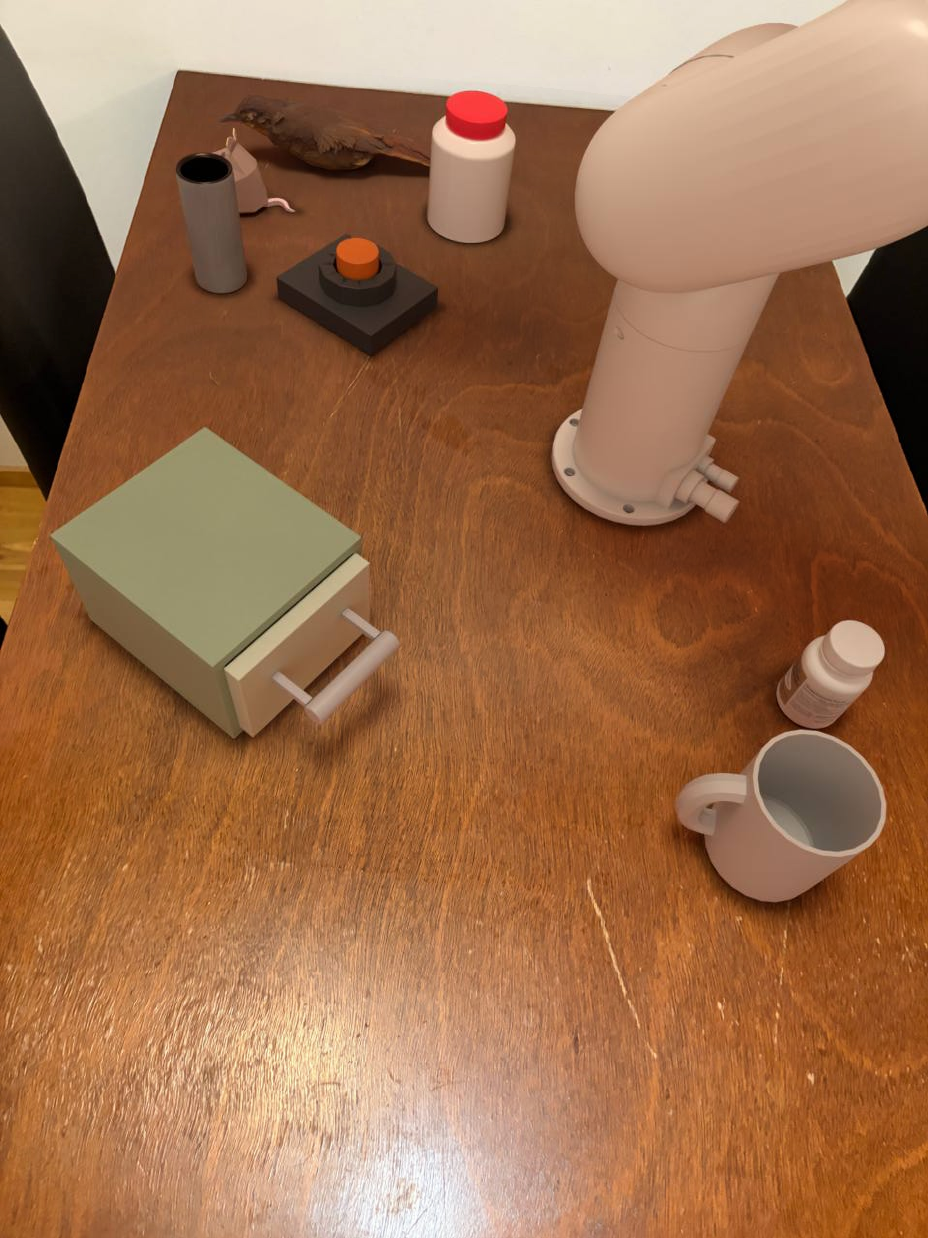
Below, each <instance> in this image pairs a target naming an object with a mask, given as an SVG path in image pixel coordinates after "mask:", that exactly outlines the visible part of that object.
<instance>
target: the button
mask: <svg viewBox="0 0 928 1238" xmlns="http://www.w3.org/2000/svg"><path fill="white" fill-rule="evenodd" d="M375 244H376V243H375V242H373V241H371V240H369V239H366V238H362V237H353V238H350V239H346V240H344V241H342V242H341V243H340V244H339V245H338V246H337V249H336V259H337V270H338V272H339V273H340V274H341V275H342V276H344V277H346V278H349V279H355V280H363V279H369V278H373V277H374V276H375V275H376V274H377V273H378V270H379V250H378V248H377V246H376V245H377V244H376V245H375Z"/></svg>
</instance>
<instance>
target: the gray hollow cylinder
mask: <svg viewBox="0 0 928 1238" xmlns="http://www.w3.org/2000/svg"><path fill="white" fill-rule="evenodd" d="M174 172H175V176H176V177H175V178H176V182H177V188H178V192H179V198H180V203H181V208H182V214H183V219H184V224H185V229H186V234H187V235H186V236H187V240H188V245H189V249H190V250H189V251H190V255H191V261H192V266H193V271H194V277H195V280H196V283H197V284H198V286H200V288H202V289H203V290H205V291H207V292H210V293H214V294H227V293H232V292H235V291H238V290H240V289H241V288H242V287H243V286H245V284H246V283H247V280H248V270H247V262H246V255H245V248H244V241H243V233H242V232H243V231H242V225H241V217H240V214H239V209H238V201H237V194H236V187H235V179H234V172H233V166H232V164H231V163H230V161H229V160H227V159H226V158H225V157H223V156H220V155H218V154H214V153H213V152H195V153H194V152H193V153H191V154H188V155H185V156H183V157H182V158H181V159H180V160H178V161H177V162H176V164H175V167H174Z"/></svg>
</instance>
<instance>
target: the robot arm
mask: <svg viewBox="0 0 928 1238" xmlns="http://www.w3.org/2000/svg"><path fill="white" fill-rule="evenodd" d="M574 210H575V211H574V212H575V220H576V224H577V228H578V231H579V234H580V237H581V239H582V241H583V244H584V245H585V247H586V249H587V250H588V252H589V253H590V255H591V256H592V258H593V259H594V260H595V262H596V263H597V264H598V265H599V266H600V267H602V269H604V270H605V271H606V272H607V273H608V274H609V275H611V276H613V277H614V278H616V284H615V286H614V289H613V293H612V296H611V301H610V305H609V308H608V312H607V315H606V320H605V323H604V327H603V330H602V334H601V338H600V341H599V346H598V349H597V353H596V356H595V361H594V362H593V363H594V364H593V368H592V371H591V374H590V378H589V383H588V386H587V390H586V393H585V397H584V400H583V405H582V408H580V409H578V410H576V411H575V412H574V413H572V414H570V415H569V416H568V417H567V418H566V419H565V420H563V422H562V423H560V426H559V427H558V429H557V431H556V433H555V435H554V438H553V442H552V447H551V452H550V453H551V454H550V459H551V465H552V466H551V467H552V470H553V473H554V476H555V478H556V480H557V482H558V483H559V485H560V487H561V488H562V489H563V491H564V492H565V493H566V494H567V495H568V496H569V497H570V498H571V499H572V501H574V502H575V503H576V504H578V506H581V507H582V508H583V509H585V510H586V511H588V512H590V513H592V514H594V515H596V516H597V517H600V518H603V519H606V520H608V521H611V522H613V523H619V524H623V525H627V526H641V527H643V526H656V525H662V524H666V523H668V522H672V521H674V520H677V519H679V518H681V517H683V516H685V515H686V514H687V513H689V512H690V511H691V510H692V509H694V508H695V506H696V505H697V506H698V507H700V508H702V509H703V510H704V512H705V513H707V514H709V516H712V517H713V518H715V519H717V520H718V521H719V522H722V523H723V524H725V523H727V522H728V521H729V519H730V518H731V516H732V515H733V514H734V513H735V511H736V509H737V508H738V506H739V504H740V501H739V500H738V499H737V498H735V497H733V496H731V495H730V493H731V492H732V491H733V489H734V488H735V486H736V485H737V484H738V482H739V480H740V477H738V476H737V475H735V474H733V473H732V472H730V471H729V470H726V469H723V468H721V467H720V466H718V465H717V464H715V463H714V462H715V459H714V458H712V457H710V454H711V452H712V450H713V448H714V446H715V443H716V441H717V439H716V438H715V437H714V436H712V435H710V434H709V432H710V429H711V428H712V425H713V422H714V421H715V418H716V416H717V414H718V411H719V410H720V407H721V405H722V402H723V400H724V397H725V395H726V393H727V391H728V389H729V386H730V384H731V381H732V379H733V377H734V375H735V373H736V370H737V368H738V366H739V364H740V361H741V359H742V357H743V354H744V352H745V350H746V348H747V345H748V343H749V341H750V339H751V336H752V334H753V332H754V330H755V329H756V326H757V324H758V322H759V319H760V317H761V316H762V312H763V310H764V309H765V306H766V304H767V302H768V299H769V297H770V295H771V293H772V291H773V288H774V287H775V284H776V282H777V280H778V279H779V276H780V274H781V273H785V272H790V271H795V270H799V269H803V268H807V267H811V266H815V265H819V264H824V263H829V262H833V261H838V260H840V259H845V258H848V257H853V256H856V255H860V254H864V253H867V252H870V251H874V250H877V249H880V248H882V247H885V246H887V245H890V244H892V243H895V242H897V241H900V240H902V239H904V238H907V237H908V236H911V235H913V234H915V233H917V232H919V231H921V230H922V229H924V228H926V227H928V0H845V1H844V2H843V3H841V4H839V5H837V6H836V7H834V8H832V9H831V10H829V11H827V12H824V13H823V14H822V15H819V16H818V17H816V18H814V19H812V20H810V21H808V22H806V23H804V24H802V25H800V26H799V25H794V24H791V23H783V22H767V23H760V24H759V23H758V24H755V25H751V26H749V27H744V28H741V29H739V30H736V31H734V32H731V33H729V34H727V35H726V36H724V37H722V38H720V39H718V40H717V41H714V42H713V43H711V44H710V45H708V46H707V47H705V48H703V49H702V50H700V51H699V52H697V53H696V54H694V55H693V56H692V57H690V58H689V59H687V60H685V61H683V63H681V64H679V65H677V66H676V67H675V68H674V69H672V71H670V72H669V73H668V74H667V75H666V76H664V77H663V78H661V79H660V80H658V81H656V82H655V83H653V84H652V85H650V86H648V87H647V88H646V89H644V90H643V91H641V92H640V93H639V94H636V95H635V96H633V98H631V99H630V100H628V101H627V102H626V103H624V104H623V105H622V106H620V107H619V108H618V109H616V110H615V111H614V112H613V113H612V114H611V115H609V116H608V118H607V119H606V120H604V122H603V123H602V125H600V126H599V128H598V130H596V132H595V133H594V135H593V137H592V138H591V140H590V141H589V144H588V145H587V147H586V149H585V151H584V154H583V157H582V159H581V160H580V165H579V167H578V172H577V175H576V180H575V189H574ZM708 481H710V482H711V483H713V484H714V485H715V486H717V487H718V489H716V488H715V487H713V486H711V485H710V484H709V483H708ZM719 488H720V489H719ZM726 492H727V493H726Z"/></svg>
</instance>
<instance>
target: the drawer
mask: <svg viewBox="0 0 928 1238" xmlns="http://www.w3.org/2000/svg"><path fill="white" fill-rule="evenodd" d="M370 566H371V563H370V562H369V560H367V559H365V558H364V557H363V556H362V557H361V556H360V555H358V554H357V553H354V554H353V555H352V556H351V557H350V558H349V559H348V560H347V561H345V562H344V563H343V564H342V565H341V566H340V567H339V568H337V569H336V570H335V571H334V572H333V571H331V572H330V573H329V574H328V575H327V576H326V577H325V578H324V579H322V580H321V581H320V582H319V583H318V584H317V585H316V586H314V587H313V588H312V589H311V590H310V591H309V592H308V593H306V594H305V595H304V596H303V597H302V598H301V599H300V600H298V601H297V602H296V603H295V604H294V605H293V606H292V607H291V608H289V609H288V610H287V611H286V612H285V613H284V614H283V615H281V616H280V617H279V618H278V619H277V620H276V621H275V622H273V623H272V624H271V625H270V626H269V627H268V628H267V629H265V630H264V631H263V632H262V633H261V634H260V635H259V636H258V637H256V638H255V639H254V640H253V641H252V642H251V643H250V644H248V645H247V646H246V647H245V648H244V649H243V650H242V651H240V652H239V653H238V654H237V655H236V656H235V657H234V658H232V659H231V660H230V661H229V662H228V663H227V664H226V665H225V668H224V671H225V675H226V679H227V682H228V686H229V689H230V693H231V697H232V700H233V704H234V707H235V711H236V715H237V718H238V722H239V725H240V727H241V728H242V729H243V732H245V733H247V734H248V735H249V736H250V737H252V738H255V736H256V735H258V733H260V732H261V731H262V730H263V729H264V728H265V727H266V726H267V725H268V724H269V723H270V722H271V721H272V720H273V719H274V718H276V716H278V714H280V713H281V712H282V711H283V710H284V709H285V708H286V707H287V706H288V705H289V704H290V703H291V702H292V701H293V700H295V701H296V702H297V703H298V704H299V705H301V706H302V707H303V710H304V713H305V715H306V716H307V717H308V718H309V719H310V720H311V721H312V722H314V723H315V724H316V725H319V726H322V725H323V724H324V723H325V722H326V721H327V720H328V719H329V718H330V717H331V716H332V715H333V714H334V713H336V711H337V710H338V709H339V708H340V707H341V706H342V705H343V704H344V703H345V702H347V700H349V698H351V696H353V694H355V692H357V690H358V689H359V688H361V686H363V684H365V683H366V682H367V681H368V679H370V677H371V676H373V674H374V673H375V672H376V671H378V670H379V669H380V667H381V666H382V665H384V664H385V662H387V661H388V660H389V659H390V658H391V657H392V656H393V655H394V654H395V653H396V652H397V651H398V650H399V649H400V647H401V641H400V640H399V639H398V637H397V636H396V635H395V634H394V633H392V632H391V631H389V630H383V631H382V632H381V631H380V630H379V629H377V628H376V627H375V626H373V625H372V624H371V615H370V614H371V597H370V596H371V588H370V587H371V586H370V585H371V581H370V579H371V578H370V577H371V575H370V574H371V570H370V569H371V567H370ZM362 635H364V637H366V638H368V639H369V640H370V641H371V642H370V644H369V645H367V646H366V647H365V648H364V649H363V650H362V651H361V652H360V653H359V654H358V655H357V656H356V657H355V658H354V659H353V660H352V661H351V662H350V663H349V664H348V665H347V666H345V668H344V669H342V671H340V672H339V674H337V675H336V676H335V677H334V678H333V679H332V680H331V681H330V682H329V683H328V684H327V685H326V686H324V688H323V689H322V690H321V691H320V692H318V693H317V695H315V696H314V697H312V696H311V695H310V694H308V693H307V692H306V691H305V689H306V688H307V687H308V686H309V685H310V684H311V683H312V682H313V681H315V680H316V679H317V677H318V676H319V675H321V673H323V672H324V671H325V670H326V669H327V668H328V667H329V666H330V665H331V664H332V663H334V661H335V660H337V659H338V658H339V656H341V655H342V654H343V653H344V652H345V651H346V650H347V649H348V648H349V647H350V646H351V645H353V643H355V641H356V640H358V639H359V637H361V636H362Z"/></svg>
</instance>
